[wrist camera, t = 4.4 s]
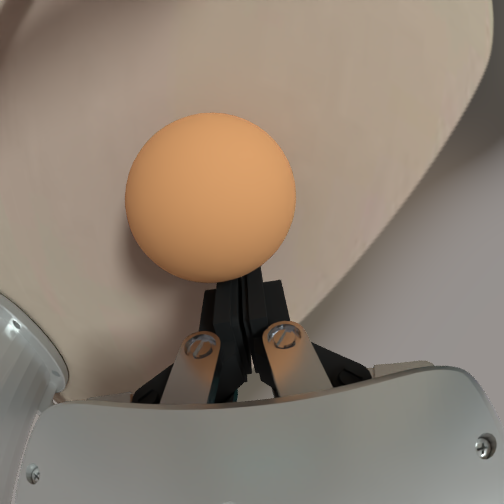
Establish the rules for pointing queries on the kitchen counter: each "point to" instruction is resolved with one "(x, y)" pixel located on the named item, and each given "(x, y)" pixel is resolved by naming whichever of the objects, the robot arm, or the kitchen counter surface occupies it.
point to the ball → (210, 197)
